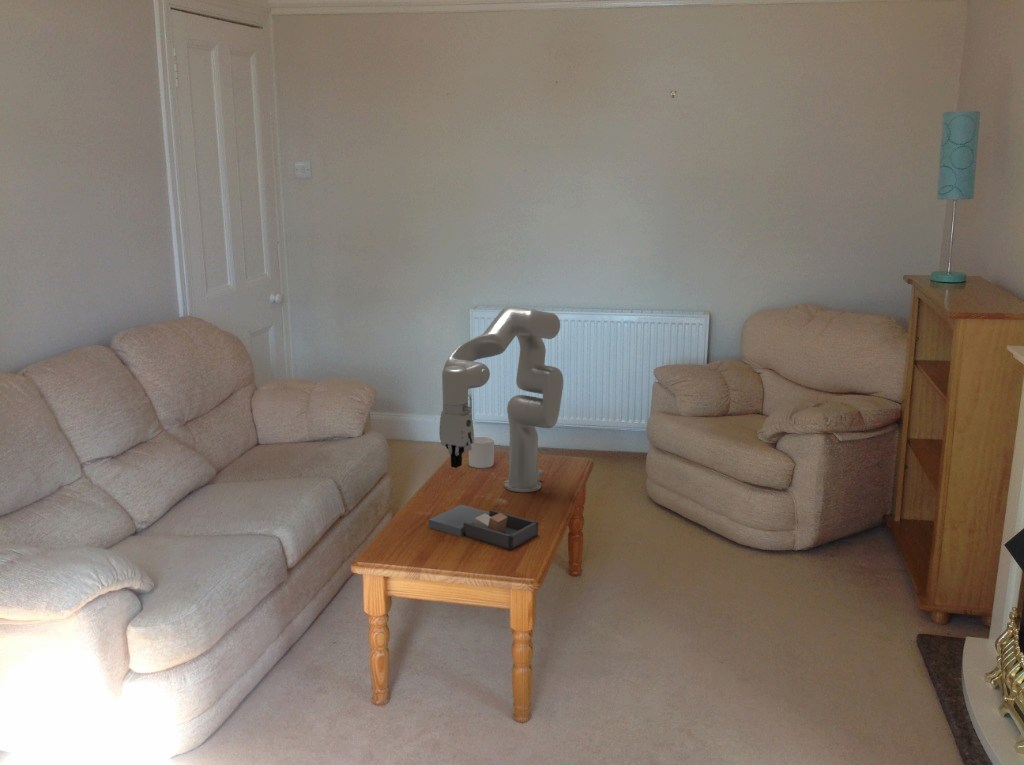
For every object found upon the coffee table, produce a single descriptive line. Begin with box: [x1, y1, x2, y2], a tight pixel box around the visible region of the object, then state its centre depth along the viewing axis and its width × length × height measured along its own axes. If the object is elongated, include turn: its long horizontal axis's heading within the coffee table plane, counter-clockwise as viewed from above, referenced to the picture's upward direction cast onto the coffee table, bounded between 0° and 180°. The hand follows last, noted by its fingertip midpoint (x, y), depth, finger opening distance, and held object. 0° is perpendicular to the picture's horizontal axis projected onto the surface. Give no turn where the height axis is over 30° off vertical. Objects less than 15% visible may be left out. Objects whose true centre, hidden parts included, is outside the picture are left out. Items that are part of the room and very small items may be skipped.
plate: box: [428, 504, 489, 537], centre depth 292 cm, size 16×12×2 cm
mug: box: [468, 435, 495, 469], centre depth 349 cm, size 12×9×9 cm
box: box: [462, 509, 539, 551], centre depth 283 cm, size 14×17×4 cm
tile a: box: [474, 513, 491, 528], centre depth 286 cm, size 5×5×3 cm
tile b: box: [488, 513, 508, 533], centre depth 284 cm, size 5×5×3 cm
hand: (456, 466), depth 290 cm, fingers closed
